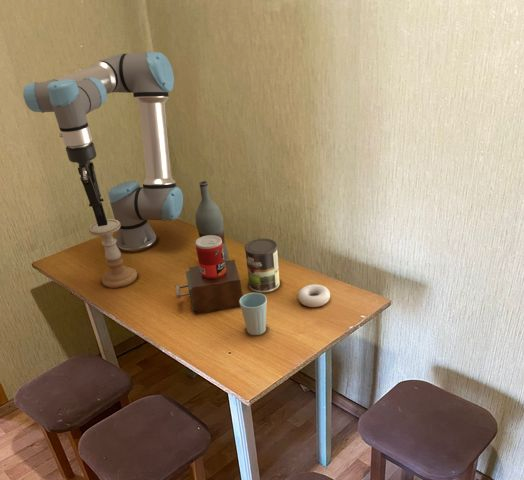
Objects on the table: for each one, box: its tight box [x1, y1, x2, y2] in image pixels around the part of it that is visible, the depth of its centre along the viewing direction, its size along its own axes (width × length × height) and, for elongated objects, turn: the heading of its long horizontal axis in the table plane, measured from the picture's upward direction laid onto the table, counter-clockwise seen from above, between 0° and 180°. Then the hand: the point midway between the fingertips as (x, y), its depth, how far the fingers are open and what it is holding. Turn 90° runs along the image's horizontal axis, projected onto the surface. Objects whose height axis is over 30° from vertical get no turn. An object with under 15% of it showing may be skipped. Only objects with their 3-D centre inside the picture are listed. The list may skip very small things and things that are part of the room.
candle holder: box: [88, 218, 138, 289], centre depth 178 cm, size 12×12×20 cm
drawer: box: [174, 270, 197, 312], centre depth 165 cm, size 18×11×8 cm, turn 100°
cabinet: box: [188, 259, 243, 315], centre depth 166 cm, size 15×13×10 cm
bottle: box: [194, 180, 229, 261], centre depth 177 cm, size 9×9×30 cm
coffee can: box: [244, 238, 281, 294], centre depth 169 cm, size 10×10×14 cm
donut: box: [297, 283, 331, 308], centre depth 163 cm, size 10×3×10 cm
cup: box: [239, 292, 268, 336], centre depth 151 cm, size 8×8×10 cm
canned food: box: [195, 235, 226, 279], centre depth 159 cm, size 8×8×11 cm
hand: (102, 224), depth 158 cm, fingers closed
